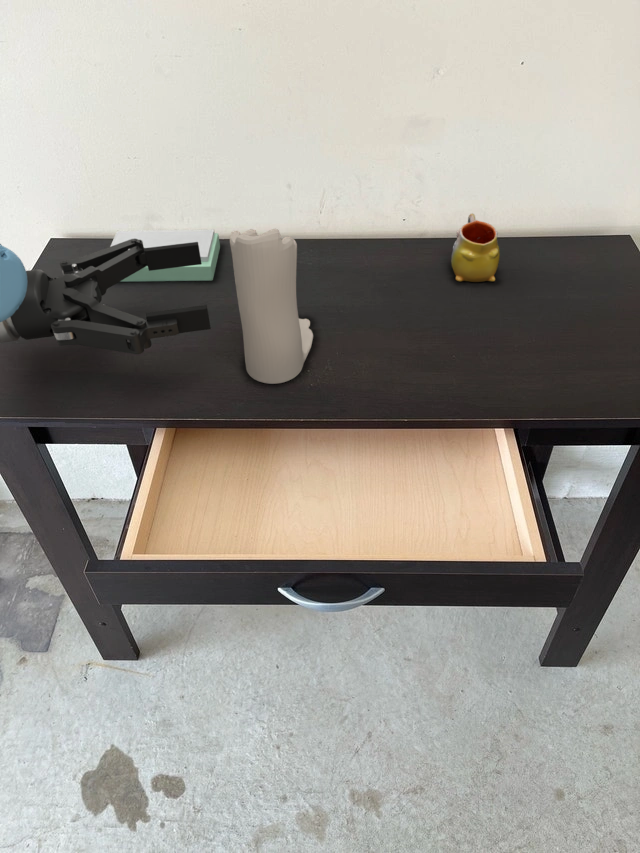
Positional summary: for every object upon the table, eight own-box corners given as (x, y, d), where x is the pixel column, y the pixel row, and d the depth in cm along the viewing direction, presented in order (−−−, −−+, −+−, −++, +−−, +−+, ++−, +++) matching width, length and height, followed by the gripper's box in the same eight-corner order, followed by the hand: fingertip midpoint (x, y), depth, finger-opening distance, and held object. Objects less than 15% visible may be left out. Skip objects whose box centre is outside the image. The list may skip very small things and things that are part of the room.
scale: (104, 281, 97) (99, 262, 95) (119, 248, 104) (114, 229, 102) (212, 280, 97) (209, 261, 94) (220, 246, 104) (217, 228, 101)
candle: (322, 321, 89) (319, 178, 75) (293, 388, 80) (284, 239, 66) (271, 314, 91) (259, 172, 76) (238, 379, 81) (216, 231, 67)
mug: (498, 286, 94) (506, 244, 89) (450, 284, 95) (455, 243, 90) (492, 243, 103) (499, 203, 98) (448, 241, 103) (453, 201, 98)
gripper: (36, 276, 85) (201, 256, 88) (12, 406, 68) (217, 376, 71) (16, 222, 80) (192, 203, 82) (-16, 349, 63) (208, 319, 65)
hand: (204, 283), depth 77 cm, fingers open, 13 cm apart
